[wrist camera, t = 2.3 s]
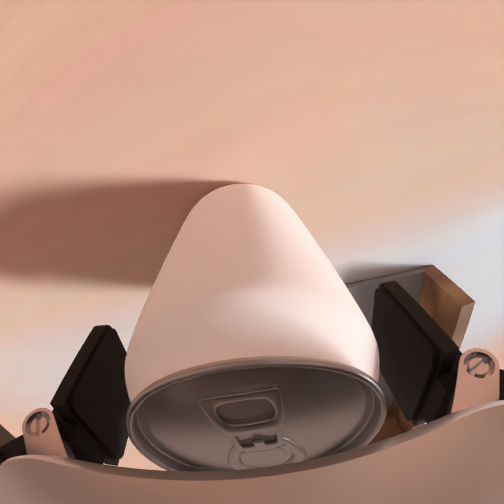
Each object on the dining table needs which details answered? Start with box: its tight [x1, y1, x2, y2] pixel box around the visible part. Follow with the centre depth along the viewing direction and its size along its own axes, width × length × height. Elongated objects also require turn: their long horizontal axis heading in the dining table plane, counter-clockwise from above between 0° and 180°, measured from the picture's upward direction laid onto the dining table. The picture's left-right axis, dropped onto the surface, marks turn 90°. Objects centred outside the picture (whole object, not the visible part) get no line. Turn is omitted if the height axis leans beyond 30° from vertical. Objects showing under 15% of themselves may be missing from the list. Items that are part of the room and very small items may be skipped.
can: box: [125, 184, 387, 472], centre depth 11 cm, size 6×6×12 cm
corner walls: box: [367, 265, 475, 445], centre depth 19 cm, size 17×14×5 cm
